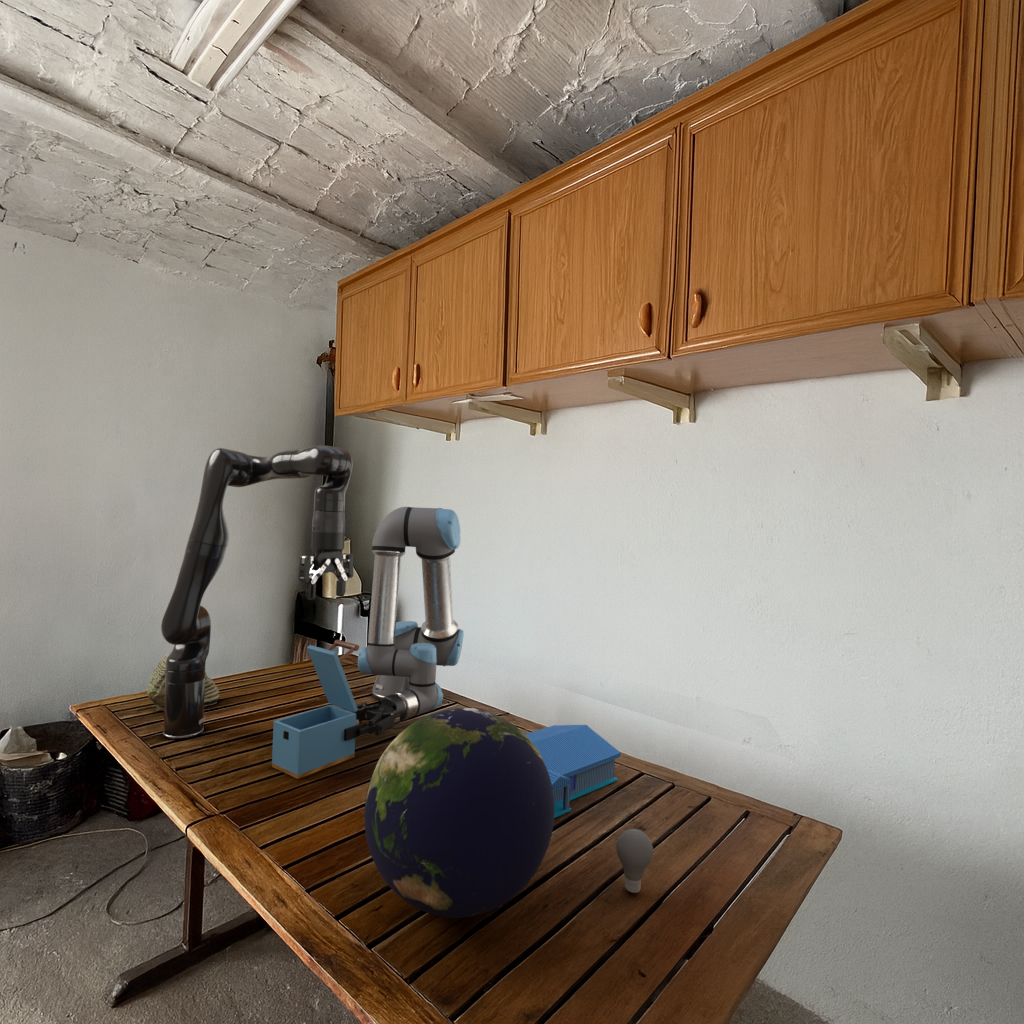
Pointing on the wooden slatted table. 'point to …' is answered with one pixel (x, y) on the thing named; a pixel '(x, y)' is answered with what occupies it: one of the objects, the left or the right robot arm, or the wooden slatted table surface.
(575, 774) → the model building
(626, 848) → the light bulb
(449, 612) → the right robot arm
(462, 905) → the globe
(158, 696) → the fossil
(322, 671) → the lid
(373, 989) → the wooden slatted table surface
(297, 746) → the chest
